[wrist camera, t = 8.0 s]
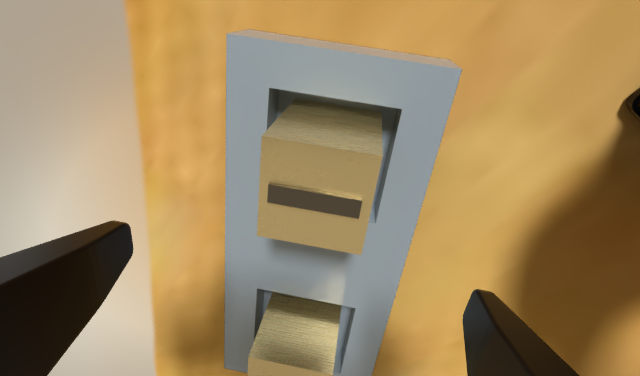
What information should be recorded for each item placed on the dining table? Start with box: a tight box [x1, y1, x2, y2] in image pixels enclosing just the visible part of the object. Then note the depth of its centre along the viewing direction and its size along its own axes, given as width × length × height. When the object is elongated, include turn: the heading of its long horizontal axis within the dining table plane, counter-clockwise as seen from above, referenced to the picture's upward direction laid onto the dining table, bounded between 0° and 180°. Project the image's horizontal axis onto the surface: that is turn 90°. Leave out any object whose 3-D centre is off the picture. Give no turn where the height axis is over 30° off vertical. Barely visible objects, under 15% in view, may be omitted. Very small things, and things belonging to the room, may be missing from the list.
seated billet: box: [247, 292, 341, 376], centre depth 22 cm, size 4×4×6 cm
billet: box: [257, 98, 383, 255], centre depth 17 cm, size 4×4×6 cm
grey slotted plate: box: [224, 29, 462, 376], centre depth 22 cm, size 22×10×3 cm, turn 173°
